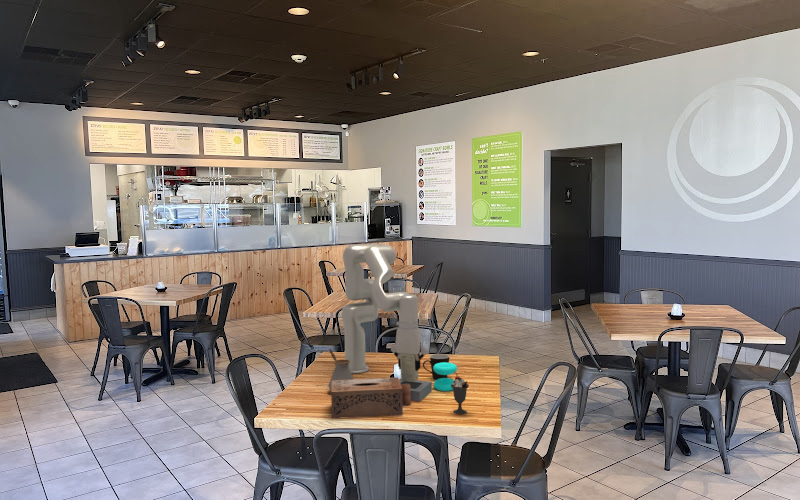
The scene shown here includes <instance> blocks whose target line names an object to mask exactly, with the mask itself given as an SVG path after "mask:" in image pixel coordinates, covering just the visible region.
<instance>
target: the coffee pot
mask: <svg viewBox="0 0 800 500" xmlns="http://www.w3.org/2000/svg"><path fill="white" fill-rule="evenodd" d="M326 352H327V353H328V354H331V358H332V359H333V360H334V362H333V363H334V365H335V368H334V370H333V373H332V375H331V377H330V379H329V382H328V386H327V387H328V388H329V389H328V390H329V391H331V382H332V380H352V379H355V378H354V376H353V373H351V371H350V369H349V367H348V364H349V362H350V360H345V359H337V358H336V355H335V354H334V353H333V349H332V348H329V349H328V350H327V351H326Z"/></svg>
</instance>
